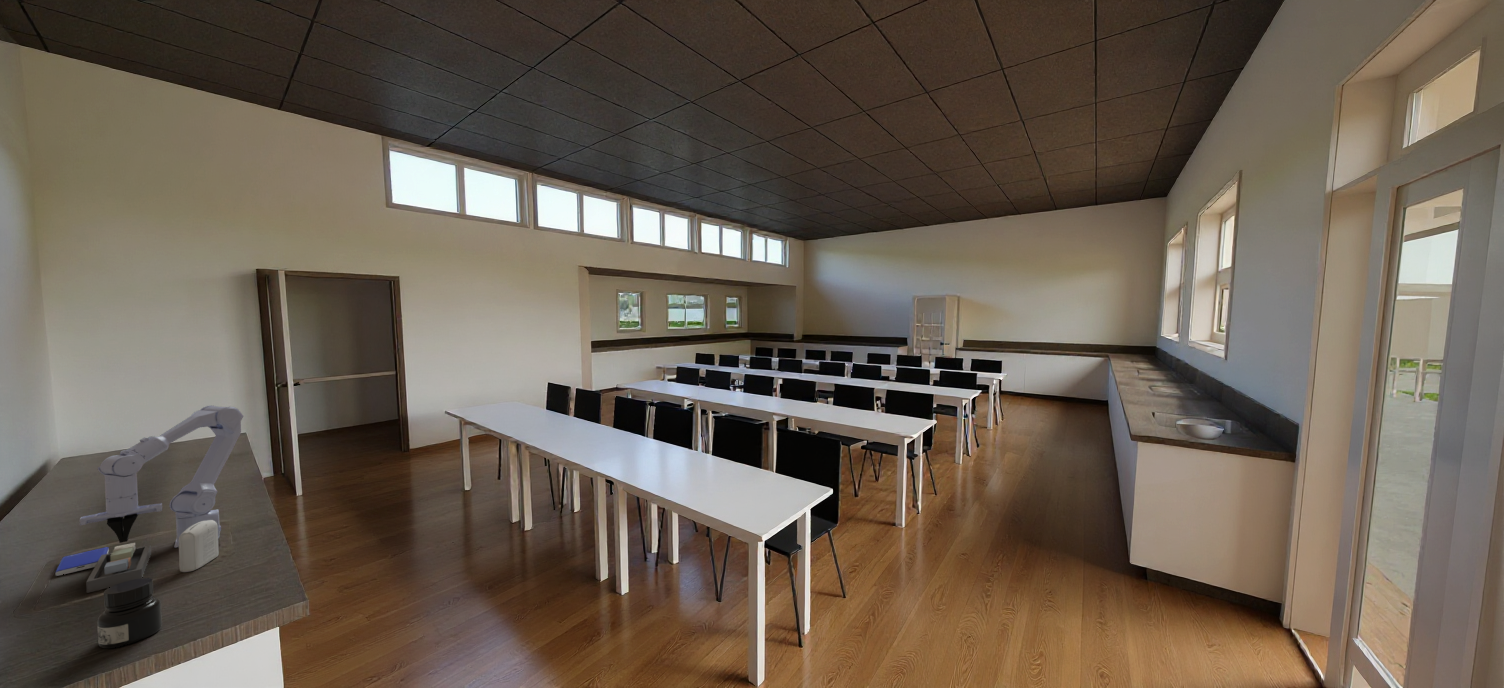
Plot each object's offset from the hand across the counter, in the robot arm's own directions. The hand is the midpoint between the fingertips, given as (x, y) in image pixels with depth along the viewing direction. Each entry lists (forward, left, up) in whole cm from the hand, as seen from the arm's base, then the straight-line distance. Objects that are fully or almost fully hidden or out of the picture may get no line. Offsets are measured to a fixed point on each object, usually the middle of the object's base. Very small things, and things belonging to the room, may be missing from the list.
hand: (123, 541), depth 140 cm
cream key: (0, 0, -4) cm, 4 cm away
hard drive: (+8, -8, -7) cm, 13 cm away
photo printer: (-15, +16, -7) cm, 23 cm away
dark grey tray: (0, +7, -7) cm, 10 cm away
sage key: (0, +5, -4) cm, 6 cm away
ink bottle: (-6, +54, -7) cm, 55 cm away
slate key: (0, +14, -4) cm, 14 cm away
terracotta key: (0, +9, -6) cm, 11 cm away
